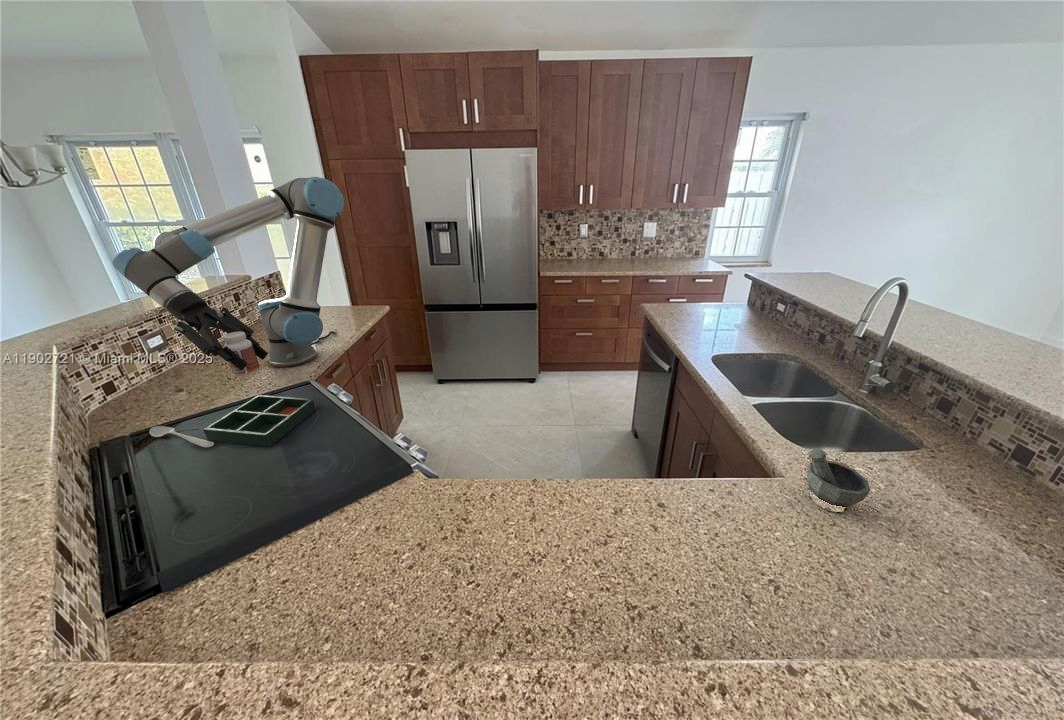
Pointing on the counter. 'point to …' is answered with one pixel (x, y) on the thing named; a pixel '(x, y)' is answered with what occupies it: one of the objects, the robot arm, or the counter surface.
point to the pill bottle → (242, 353)
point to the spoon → (163, 430)
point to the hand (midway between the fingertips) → (254, 361)
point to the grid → (260, 420)
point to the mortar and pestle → (835, 481)
